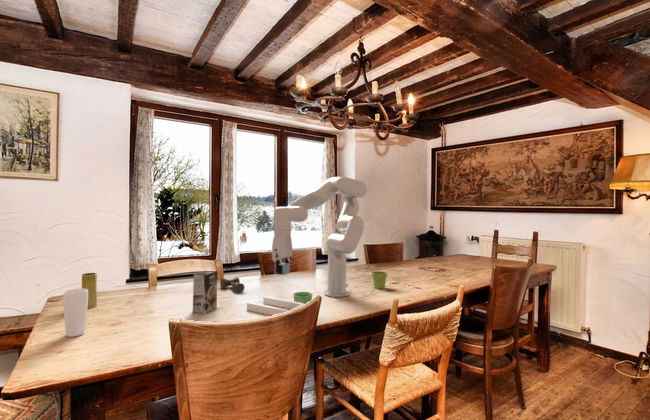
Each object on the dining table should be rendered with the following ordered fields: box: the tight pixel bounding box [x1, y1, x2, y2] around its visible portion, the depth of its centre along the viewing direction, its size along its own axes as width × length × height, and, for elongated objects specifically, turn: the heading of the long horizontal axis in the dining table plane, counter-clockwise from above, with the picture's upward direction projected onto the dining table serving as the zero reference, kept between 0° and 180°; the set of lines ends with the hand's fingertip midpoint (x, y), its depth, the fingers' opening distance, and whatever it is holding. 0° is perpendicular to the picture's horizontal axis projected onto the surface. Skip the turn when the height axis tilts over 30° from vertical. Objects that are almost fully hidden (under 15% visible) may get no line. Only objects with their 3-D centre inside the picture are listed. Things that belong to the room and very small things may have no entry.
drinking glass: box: [62, 287, 88, 338], centre depth 112 cm, size 7×7×15 cm
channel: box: [246, 295, 305, 316], centre depth 142 cm, size 13×22×3 cm, turn 61°
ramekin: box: [292, 291, 313, 304], centre depth 153 cm, size 9×9×4 cm
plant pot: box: [370, 270, 389, 290], centre depth 186 cm, size 9×9×9 cm
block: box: [274, 262, 291, 276], centre depth 152 cm, size 5×5×4 cm
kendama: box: [219, 276, 245, 294], centre depth 178 cm, size 6×10×20 cm
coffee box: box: [192, 270, 218, 314], centre depth 141 cm, size 9×6×16 cm
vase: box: [81, 272, 98, 309], centre depth 142 cm, size 6×6×14 cm
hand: (282, 272), depth 152 cm, fingers closed on block, 5 cm apart
